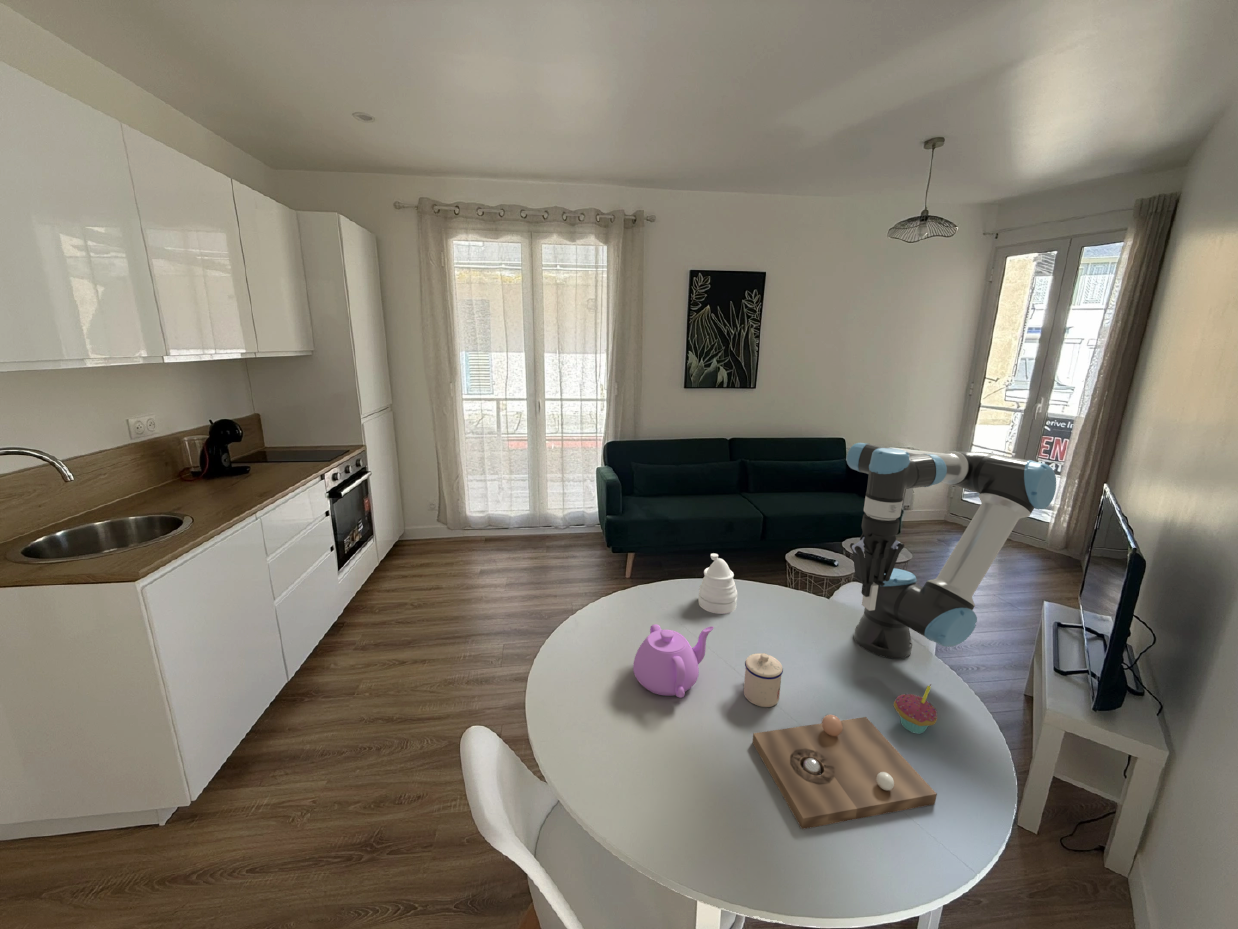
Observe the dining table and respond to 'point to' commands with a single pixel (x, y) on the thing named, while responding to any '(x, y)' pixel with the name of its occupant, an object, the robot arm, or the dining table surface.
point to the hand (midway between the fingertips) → (868, 607)
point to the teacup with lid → (762, 679)
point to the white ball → (885, 781)
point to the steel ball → (811, 766)
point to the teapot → (669, 661)
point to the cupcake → (915, 711)
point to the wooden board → (840, 773)
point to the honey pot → (718, 588)
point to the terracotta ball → (832, 725)
